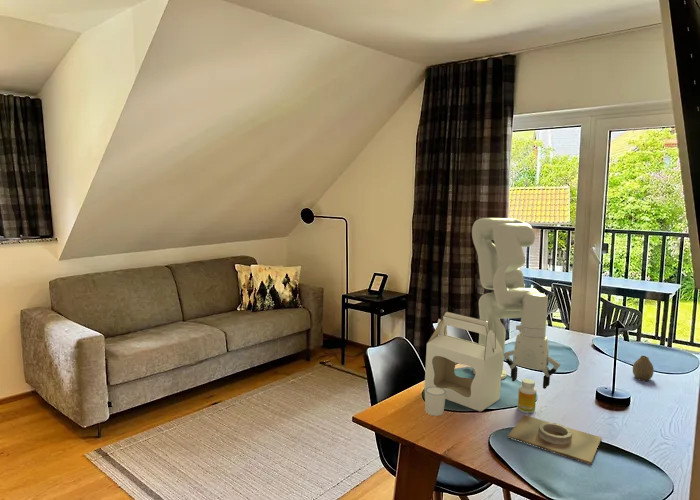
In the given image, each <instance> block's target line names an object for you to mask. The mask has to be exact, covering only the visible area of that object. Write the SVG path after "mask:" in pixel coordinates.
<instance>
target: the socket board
mask: <svg viewBox="0 0 700 500" xmlns="http://www.w3.org/2000/svg"><path fill="white" fill-rule="evenodd" d="M508 437H510V438H513V439H516V440H519V441H522V442H525V443H528V444H531V445H534V446H537V447H540V448H543V449H546V450H548V451H547V452H549V451H552V452H555V453H557V454H556V455H558V454H560V455H559V456H562V455H563V456H562V457H565V456H566V457H565V458H568V457H569V458H568V459H571V458H573V459H572V460H574V459H576V460H575V461H577V460H579V461H578V462H580V461H582V462H581V463H583V462H585V463H584V464H586V463H589V464H588V465H590V464H591V465H593V462H592V461H594V459H595V457H594V456H596V455H597V452H596V451H598V449H599V447H598V446H600V445H601V442H602V438H603V437H601V436H599V435H594V434H591V433H587V432H584V431H581V430H578V429H574V428H570V427H568V426H565V425H563V424H560V423H559V424H558V423H557V422H556V423H555V422H549V421H546V420H544V419H543V420H542V419H539V418H536V417H532V416H528V415H525V414H523V416H521V418H520V419H519V421H518V422H517V423H516V424H515V426H514V427H513V428H512V430H511V431H510V432H509V433H508V434H507V438H508ZM600 441H601V442H600ZM537 447H536V448H537ZM540 448H539V449H540ZM597 448H598V449H597ZM543 449H542V450H543ZM546 450H545V451H546ZM552 452H551V453H552ZM555 453H554V454H555Z"/></svg>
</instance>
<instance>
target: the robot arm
mask: <svg viewBox="0 0 700 500" xmlns="http://www.w3.org/2000/svg"><path fill="white" fill-rule="evenodd" d="M471 237H472V242H473V245H474V248H475V251H476V254H477V258H478V259H477V260H478V270H479V279H480V284H481V285H480V286H482V288H483V289H486V290H491V291H492V290H493V292H487V293H484V294H482V295H481V296H479V300H478V311H479V319H481V320H485V321H488V323H489V330H492V331H493V332H495V333H496V338H497V340H498V342H499V344H500V346H501V348H502V349H503V359H502V372H501V380H503V379H505V378H507V376H508V375H507V374H508V372H507V371H506V370H505V369H504V360H505V363H506V364H507V365H508V366H509V368H510V378H511V381H512V382H515V381H517V379H518V367H517V366H519V367H521V368H526V369H532V370H535V371H536V370H537V371H542V373H543V374H544V376H543V379H542V388H543V389H545V390H546V388H547V387H549V386H550V383H551V382H550V381H551V376H552V375H553V374H555V373H556V372H557V370H558V369H559V368H560V366H561V363H559V362H558V361H557V360H555V358H553V357H551V356H550V353H549V352H550V351H549V350H550V348H549V340H548V336H546V334H547V333H546V332H547V331H546V330H547V320H548V319H547V318H548V304H549V303H548V301H549V299H548V296H547V295H546V294H545V293H542V292H540V291H539V290H537V288H534V287H525V279H524V274H523V271H522V269H521V268H522V267H523V266H524V265H525V263H526V257H525V253H524V250H523V248H529V247H531V246H533V244H534V242H535V238H536V236H535V231H534V228H533V227H532V225H530V224H529V223H527V222H525V221H523V220H521V219H517V218H514V217H513V218H512V217H483V218H478V219H477V220H475V221H474V222H473V225H472V228H471ZM501 319H520V325H516V326H515V329H516V330H518V331H519V333H517V335H516V338H515V343H514V348H513V350H510V351H506V352H505V345H506V335H507V334H506V327H505V326H504V324H503V323H502V321H501ZM478 334H479V335H478V343H479V344H482V345H486V336H485V335H483V334H480V333H478ZM511 356H513V357H512V358H511ZM549 364H551V365H552V366H553V367H552V368H551V369H550V368H549ZM472 373H473V374H474V376H475V375H476V372H475V370H474V369H473V368H472Z"/></svg>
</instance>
